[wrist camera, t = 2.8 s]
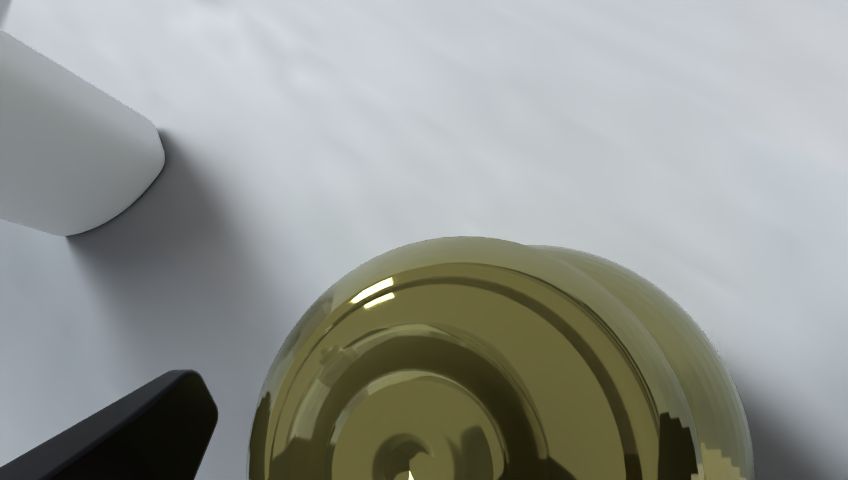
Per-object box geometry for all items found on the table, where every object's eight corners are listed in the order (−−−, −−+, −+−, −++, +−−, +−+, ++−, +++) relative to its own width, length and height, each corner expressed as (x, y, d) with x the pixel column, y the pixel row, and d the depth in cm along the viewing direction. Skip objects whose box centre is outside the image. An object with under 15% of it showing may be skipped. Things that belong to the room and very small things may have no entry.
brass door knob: (360, 416, 16) (-2, 421, 7) (553, 231, 15) (447, -29, 6) (547, 679, 13) (338, 1373, 3) (797, 454, 12) (1282, 572, 3)
